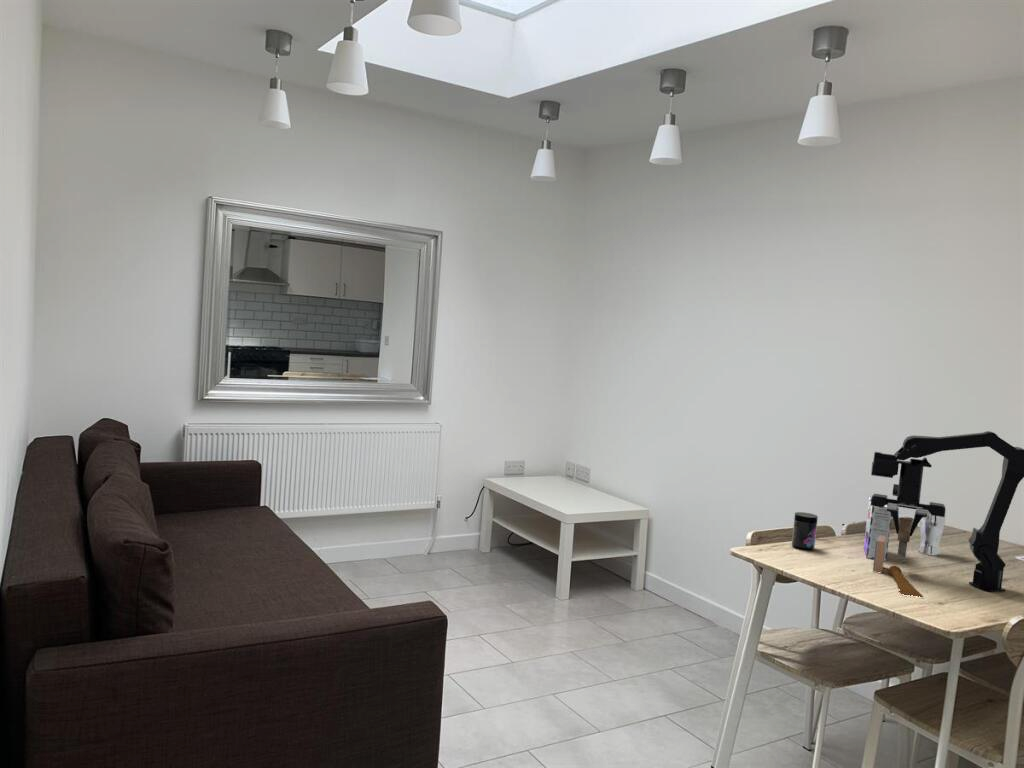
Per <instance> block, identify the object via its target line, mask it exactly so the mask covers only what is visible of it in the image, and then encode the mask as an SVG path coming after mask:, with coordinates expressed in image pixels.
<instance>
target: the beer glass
mask: <svg viewBox="0 0 1024 768" xmlns="http://www.w3.org/2000/svg"><path fill="white" fill-rule="evenodd" d="M929 504H930V503H929ZM929 504H927V505H929ZM945 511H946V507H945ZM945 523H946V516H945V517H940V516H934V515H931V514H930V512H929V511H928V513H927V517H923V518H922V519H921V520H920V522H919V530H920V542H919V546H918V549H917V552H918V553H919V554H922V555H926V556H930V557H938V556H940V542H941V538H942V535H943V531H944V528H945Z"/></svg>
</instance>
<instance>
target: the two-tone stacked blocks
mask: <svg viewBox="0 0 1024 768" xmlns="http://www.w3.org/2000/svg"><path fill="white" fill-rule="evenodd" d="M912 523H913V519H911V518H905V517H899V531H898V534H897V541H898V549H897V558H902V559H906V558H907V557H906V556H907V555H906V554H907V548H908V547H907V546H908V543H910V540H911V539H910V537H911V536H910V532H911V527H912Z"/></svg>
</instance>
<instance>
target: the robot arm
mask: <svg viewBox="0 0 1024 768" xmlns="http://www.w3.org/2000/svg"><path fill="white" fill-rule="evenodd" d="M902 442H903V443H902V446H901V447H900V448H899V449H898V450H897V451H896V452H895V453H894V454H890V453H883V452H880V451H874V454H873V461H872V463H871V471H870V472H871V473H870V474H871V476H874V477H880V478H889V479H893V478H894V477H895V476H897V475H898V474H899V478H898V484H896V483H893V487H892V496H893V497H896V499H894V498H888V495H886V494H880V493H874V494H872V495H871V497H870V498H871V505H872V506H877V507H884V506H885V505H887V511H889V512H891V515H892V521H893V524H894V529H895V531H896V535H898V531H899V523H900V517H899V513H900V512H899V511H900V509H899V508H904V509H905V508H906V509H911V510H915V512H914V516H913V519H912V523H911V532H910V537H912V536H913V533H914V532H915V530H916V528H917V526H918V525H919V524H920V520H921V519H922V518H923V517H927V513H928V511H929V512H930V514H931V515H934V516H940V517H945V518H946V510H945V508H946V506H945V504H944V503H939V502H933V501H929V505H927V504H925V503H920V502H921V492H922V491H921V490H922V483H923V474H924V468H932V464H931V463H930V462H929V461H928V458H927V457H926V456H930V455H933V454H937V453H940V452H945V451H955V450H956V451H957V450H965V449H966V450H969V449H975V448H987V447H988V448H990V449H992V450H993V451H994V452H996V453H998V454H999V455H1000V456H1002V457H1003V460H1002V465H1001V467H1002V468H1001V478H1000V480H999V483H998V486H997V487H996V488H997V489H996V491H995V494H994V496H993V499H992V502H991V504H990V507H989V510H988V512H987V515H986V517H985V519H984V522H983V523H982V525H981V526H980V528H979V529H977V528H976V527H973V528H972V533H971V536H970V538H968V540H967V541H968V542H969V548H970V551H971V553H972V554H973V556H974V557H975V558H976V559H977V561H978V563H975V569H974V570H973V578H972V581H969V582H968V585H971V586H973V587H976V588H978V589H980V590H983V591H986V592H1006V591H1007V589H1006V588H1005V587H1004V588H1003V587H1002V585H1003V576H1004V569H1005V567H1006V563H1005V562H1004V560H1003V559H1002V558H1001V556H1000V555H999V554H998V551H999V546H1000V533H1001V529H1002V527H1003V524H1004V521H1005V519H1006V516H1007V514H1008V512H1009V508H1010V506H1011V504H1012V501H1013V499H1014V497H1015V493H1016V492H1017V488H1018V486H1019V484H1020V482H1021V481H1023V479H1024V448H1022V447H1019V446H1014V445H1012V444H1010V443H1008V442H1007V441H1006V440H1004V439H1002V438H1001V437H1000V436H999V435H997V433H995V432H993V431H989V430H988V431H984V432H977V433H968V434H966V433H965V434H958V435H957V434H956V435H949V436H947V435H946V436H929V435H928V436H926V435H910V436H907V437H905V438H904V440H903V441H902ZM921 457H923V458H922V459H918V458H921ZM908 459H910V460H908ZM899 465H900V469H899ZM899 470H900V471H899Z"/></svg>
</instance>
